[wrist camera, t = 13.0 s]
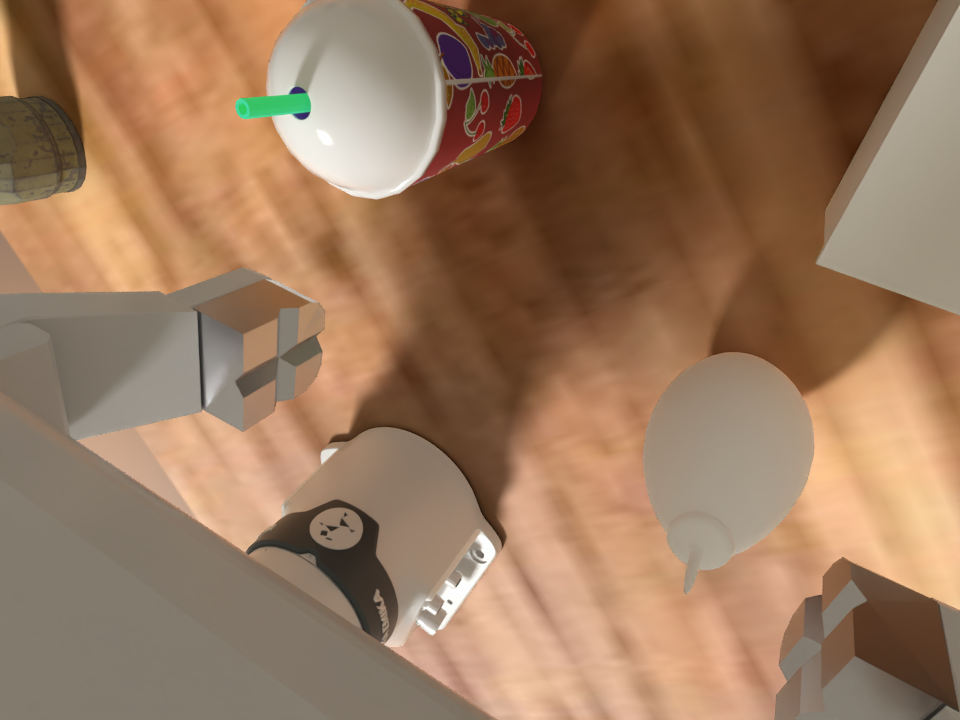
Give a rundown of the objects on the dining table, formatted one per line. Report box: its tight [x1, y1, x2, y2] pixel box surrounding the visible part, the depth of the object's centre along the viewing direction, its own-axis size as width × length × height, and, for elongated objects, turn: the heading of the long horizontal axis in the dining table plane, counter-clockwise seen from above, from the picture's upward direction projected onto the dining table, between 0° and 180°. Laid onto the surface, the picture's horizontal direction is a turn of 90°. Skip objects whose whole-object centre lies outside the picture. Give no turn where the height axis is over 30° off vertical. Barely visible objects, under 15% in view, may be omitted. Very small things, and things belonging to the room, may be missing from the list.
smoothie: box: [235, 0, 542, 199], centre depth 29 cm, size 8×8×20 cm
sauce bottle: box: [643, 352, 814, 594], centre depth 30 cm, size 8×8×18 cm
